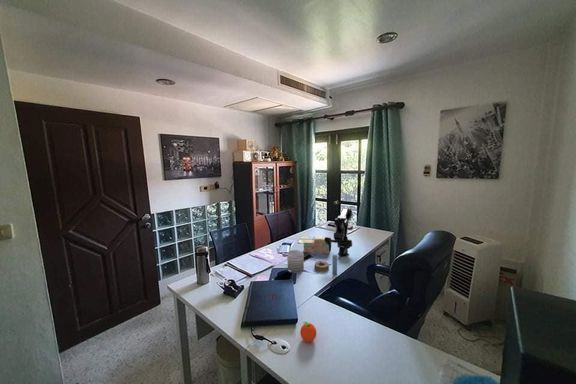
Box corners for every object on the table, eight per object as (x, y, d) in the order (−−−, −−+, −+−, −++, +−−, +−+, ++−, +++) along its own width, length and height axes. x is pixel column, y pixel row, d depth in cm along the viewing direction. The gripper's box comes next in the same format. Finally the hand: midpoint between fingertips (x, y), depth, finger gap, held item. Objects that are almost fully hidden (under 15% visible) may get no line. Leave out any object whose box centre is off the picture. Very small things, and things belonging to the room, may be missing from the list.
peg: (334, 272, 155) (334, 254, 153) (337, 274, 152) (338, 256, 151) (331, 273, 153) (331, 255, 152) (334, 275, 151) (334, 257, 149)
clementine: (296, 335, 101) (295, 321, 100) (309, 329, 104) (308, 315, 103) (306, 348, 94) (306, 333, 93) (319, 341, 97) (319, 326, 96)
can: (300, 264, 168) (300, 249, 166) (306, 271, 157) (306, 255, 155) (285, 267, 164) (285, 251, 163) (290, 274, 154) (290, 257, 152)
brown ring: (322, 263, 168) (322, 259, 167) (331, 269, 160) (331, 264, 159) (312, 267, 163) (312, 263, 162) (320, 272, 155) (320, 268, 154)
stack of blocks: (303, 253, 187) (303, 239, 186) (303, 250, 193) (303, 236, 192) (330, 253, 185) (330, 239, 184) (329, 250, 191) (329, 236, 190)
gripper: (325, 226, 163) (321, 246, 154) (352, 228, 155) (349, 250, 147) (327, 233, 171) (324, 253, 163) (353, 236, 164) (351, 256, 155)
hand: (336, 253), depth 157 cm, fingers open, 9 cm apart
